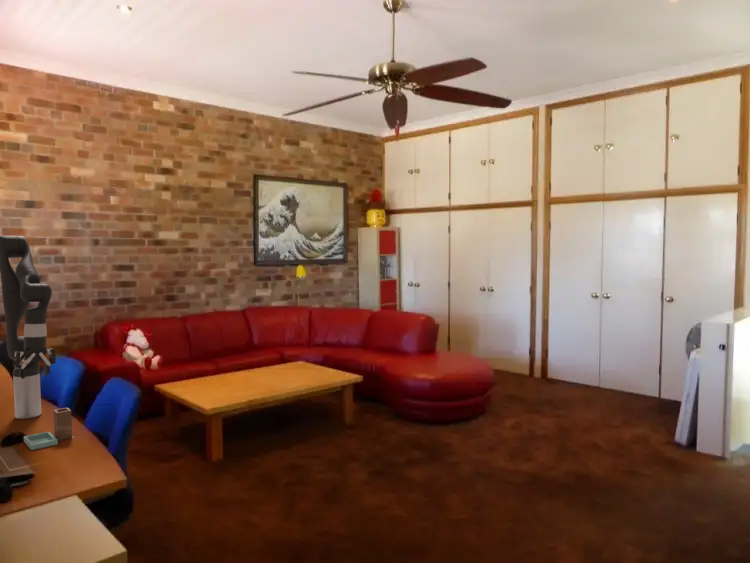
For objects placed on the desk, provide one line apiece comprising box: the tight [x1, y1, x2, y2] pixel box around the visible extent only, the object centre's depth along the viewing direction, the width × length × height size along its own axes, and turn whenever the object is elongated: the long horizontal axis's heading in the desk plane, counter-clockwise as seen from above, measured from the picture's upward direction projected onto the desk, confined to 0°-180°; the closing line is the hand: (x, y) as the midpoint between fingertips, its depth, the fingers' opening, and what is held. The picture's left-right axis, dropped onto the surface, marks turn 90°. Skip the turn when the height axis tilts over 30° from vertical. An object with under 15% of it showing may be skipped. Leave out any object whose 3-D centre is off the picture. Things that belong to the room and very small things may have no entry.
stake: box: [58, 435, 75, 442], centre depth 202 cm, size 6×6×6 cm
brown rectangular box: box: [53, 407, 73, 441], centre depth 201 cm, size 5×5×10 cm
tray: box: [23, 430, 59, 451], centre depth 196 cm, size 12×8×2 cm
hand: (34, 376), depth 216 cm, fingers open, 8 cm apart
